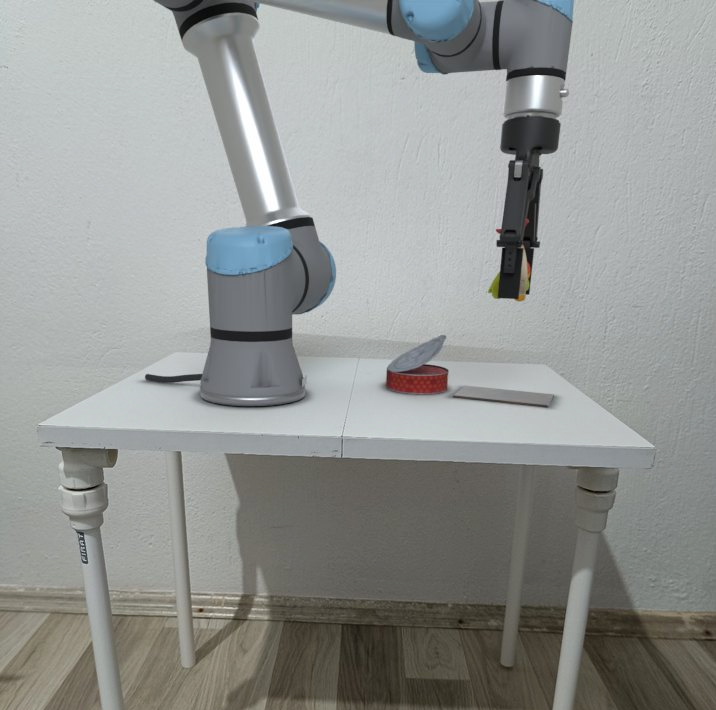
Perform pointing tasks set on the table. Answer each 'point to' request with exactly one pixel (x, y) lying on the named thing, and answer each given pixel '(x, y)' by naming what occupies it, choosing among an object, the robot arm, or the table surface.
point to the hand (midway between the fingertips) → (514, 296)
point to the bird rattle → (523, 281)
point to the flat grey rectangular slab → (505, 396)
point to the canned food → (418, 370)
